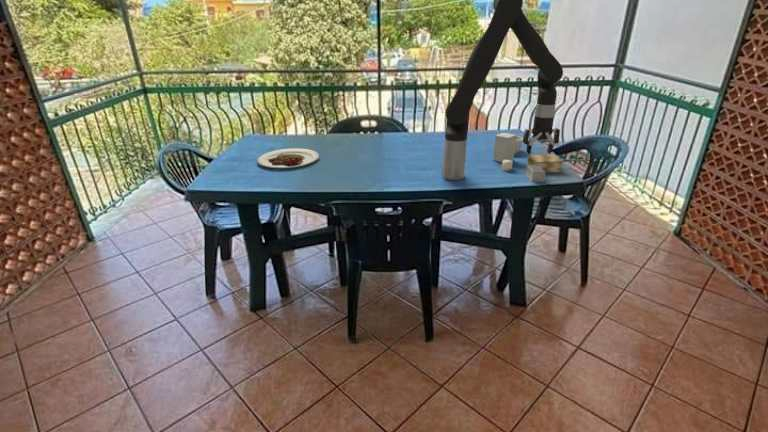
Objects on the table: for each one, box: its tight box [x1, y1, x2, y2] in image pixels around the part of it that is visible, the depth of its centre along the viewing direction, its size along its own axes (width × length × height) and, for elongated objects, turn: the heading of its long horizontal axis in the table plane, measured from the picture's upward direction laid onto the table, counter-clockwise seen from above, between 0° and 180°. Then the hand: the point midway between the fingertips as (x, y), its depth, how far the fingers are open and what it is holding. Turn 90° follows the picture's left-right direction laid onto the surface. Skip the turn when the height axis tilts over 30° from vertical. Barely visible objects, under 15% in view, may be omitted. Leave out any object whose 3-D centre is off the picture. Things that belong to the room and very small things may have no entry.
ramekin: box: [514, 135, 523, 155], centre depth 212 cm, size 13×13×7 cm
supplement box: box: [492, 132, 517, 163], centre depth 197 cm, size 7×7×13 cm
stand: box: [526, 154, 564, 173], centre depth 188 cm, size 12×10×5 cm
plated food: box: [256, 148, 319, 169], centre depth 205 cm, size 30×30×3 cm
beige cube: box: [501, 160, 514, 172], centre depth 188 cm, size 4×4×4 cm
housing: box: [524, 164, 546, 183], centre depth 178 cm, size 10×5×4 cm, turn 178°
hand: (539, 153), depth 174 cm, fingers open, 8 cm apart
